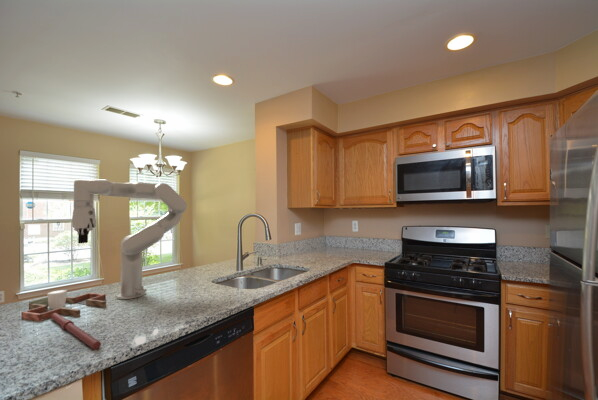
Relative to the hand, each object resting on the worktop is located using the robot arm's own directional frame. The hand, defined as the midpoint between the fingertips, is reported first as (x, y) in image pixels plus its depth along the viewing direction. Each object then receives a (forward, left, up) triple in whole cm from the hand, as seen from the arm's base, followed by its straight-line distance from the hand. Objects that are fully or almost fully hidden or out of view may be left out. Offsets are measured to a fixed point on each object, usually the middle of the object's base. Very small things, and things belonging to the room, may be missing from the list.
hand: (83, 242), depth 127 cm
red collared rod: (-29, +22, -30) cm, 47 cm away
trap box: (+1, +6, -29) cm, 30 cm away
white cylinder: (+8, +6, -29) cm, 31 cm away
